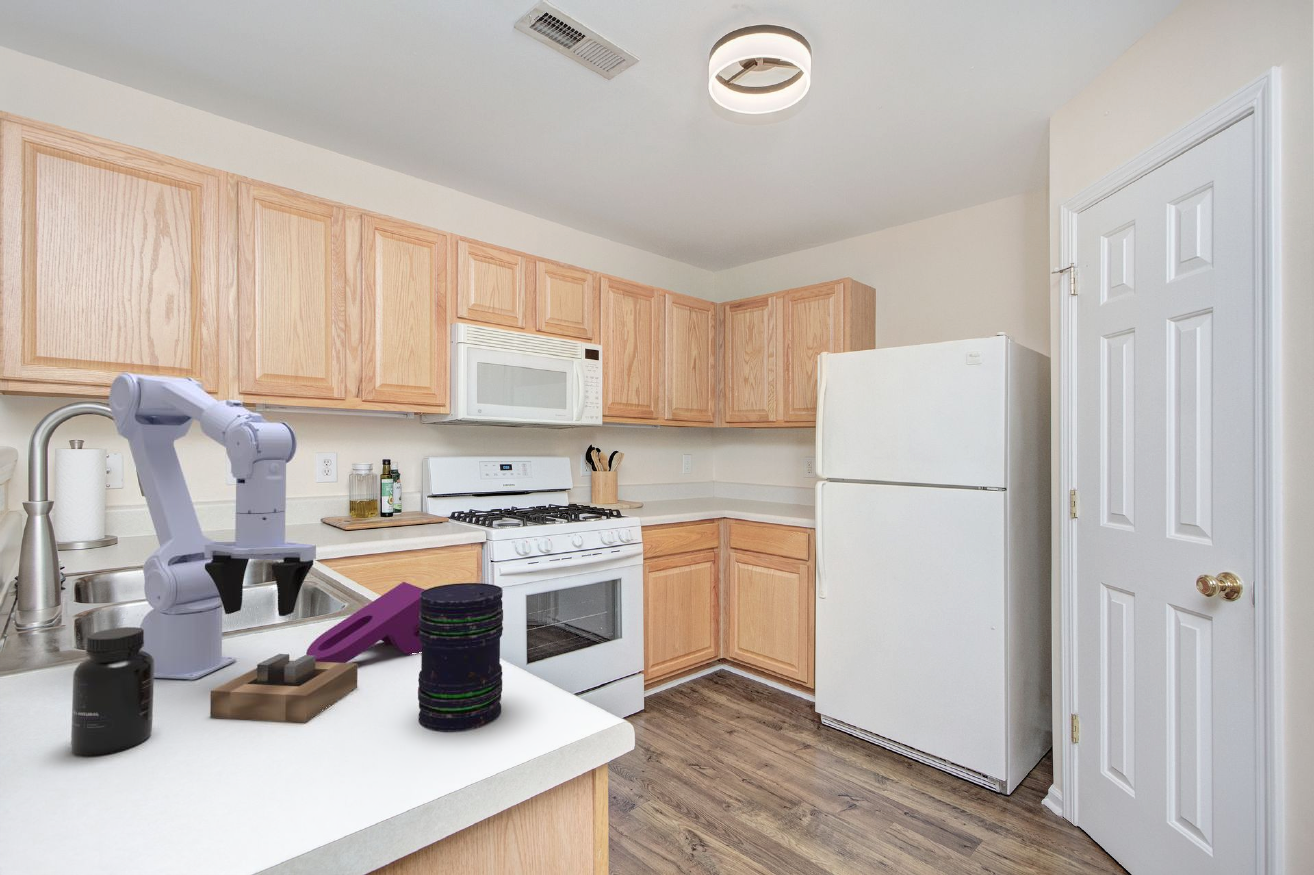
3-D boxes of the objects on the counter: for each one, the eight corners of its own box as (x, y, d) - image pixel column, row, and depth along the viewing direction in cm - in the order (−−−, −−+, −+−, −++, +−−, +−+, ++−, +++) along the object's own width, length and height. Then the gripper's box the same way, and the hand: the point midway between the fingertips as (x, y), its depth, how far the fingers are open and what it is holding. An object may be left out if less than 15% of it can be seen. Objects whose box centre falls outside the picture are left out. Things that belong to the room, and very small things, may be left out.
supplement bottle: (61, 763, 66) (62, 645, 66) (82, 736, 72) (84, 628, 72) (145, 749, 69) (146, 637, 69) (159, 724, 75) (160, 621, 75)
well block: (210, 717, 77) (210, 690, 77) (273, 683, 88) (273, 659, 88) (305, 722, 76) (305, 695, 76) (357, 687, 87) (357, 663, 87)
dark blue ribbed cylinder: (398, 724, 76) (400, 596, 76) (452, 693, 85) (453, 580, 85) (470, 738, 73) (471, 605, 73) (517, 705, 82) (519, 586, 82)
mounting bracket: (345, 712, 93) (451, 634, 105) (319, 665, 91) (430, 591, 102) (322, 693, 100) (424, 622, 112) (297, 649, 97) (403, 581, 109)
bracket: (256, 709, 80) (257, 664, 80) (278, 696, 84) (279, 653, 84) (294, 711, 80) (295, 666, 80) (315, 698, 84) (315, 655, 84)
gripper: (186, 513, 84) (184, 619, 84) (292, 516, 82) (291, 623, 82) (227, 508, 91) (226, 605, 91) (325, 510, 89) (324, 609, 89)
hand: (259, 613), depth 87 cm, fingers open, 7 cm apart
